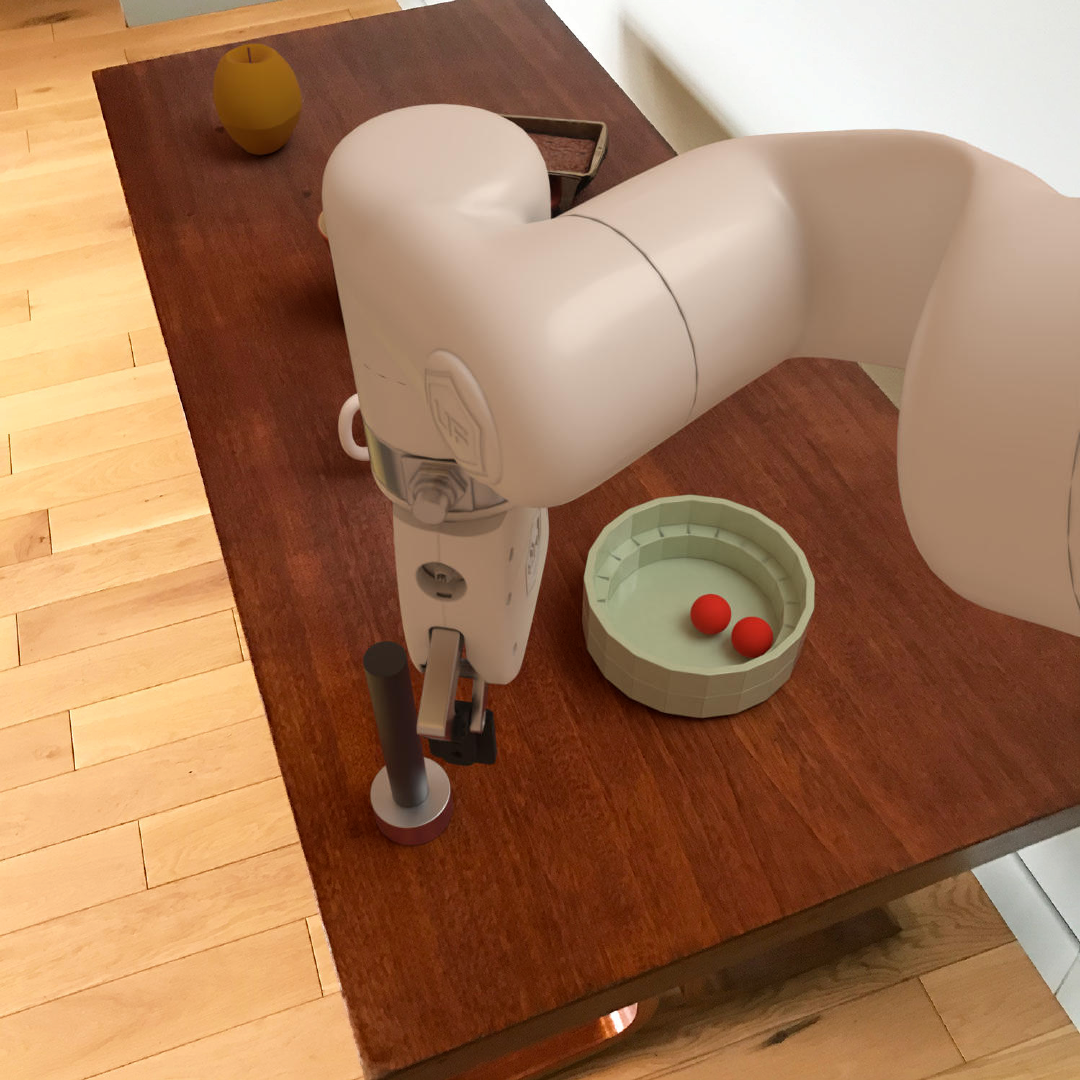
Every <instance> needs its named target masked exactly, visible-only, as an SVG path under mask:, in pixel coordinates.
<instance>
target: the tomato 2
mask: <svg viewBox="0 0 1080 1080" xmlns="http://www.w3.org/2000/svg"><path fill="white" fill-rule="evenodd" d="M731 641H732V644H733V646H734V648H735V650H736V651H737V652H738V653H739V654H741V655H742V656H745V657H748V658H758V657H760V656H762V655H764V654H765V653H766V652H767V651H768V650H769V649H770V648H771V646H772V643H773V632H772V629H771V627H770V626H769V624H768V623H767V622H766V621H764V620H763V619H761V618H758V617H752V616H751V617H746V618H743V619H741V620H740V621H738V622H737V623H736V624H735V626H734V627H733V630H732V633H731Z"/></svg>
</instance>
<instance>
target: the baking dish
mask: <svg viewBox="0 0 1080 1080" xmlns="http://www.w3.org/2000/svg"><path fill="white" fill-rule="evenodd" d="M496 114H497V115H499V116H502V117H504V118H506V119H508V120H509V121H511V122H513V123H515V124H516V125H517V126H519V127H520V128H522V129H523V130H524V131H525V132H526V133H527V135H528V136H529V137H530V138H531V139H532V140H533V141H534V143H535V144H536V145H537V147H538V149H539V151H540V153H541V155H542V157H543V159H544V161H545V164H546V168H547V172H548V178H549V185H550V198H551V219H554V218H556V217H558V216H560V215H561V214H563V213H565V212H567V211H569V210H570V208H571V205H572V202H573V200H574V198H575V197H576V196H578V195H579V194H580V193H581V192H583V190H584V189H586V188H587V187H588V186H590V184H591V183H592V182H593V181H594V179H595V178H596V177H597V175H598V173H599V171H600V168H601V166H602V164H603V161H604V160H606V159H607V155H608V151H609V147H610V139H609V128H608V125H607V124H606V123H605V121H598V120H596V121H595V120H594V121H593V120H585V119H583V120H581V119H570V118H568V119H567V118H555V117H541V116H531V115H530V116H529V115H519V114H505V113H496Z"/></svg>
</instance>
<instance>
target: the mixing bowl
mask: <svg viewBox="0 0 1080 1080" xmlns="http://www.w3.org/2000/svg"><path fill="white" fill-rule="evenodd" d="M582 585H583V587H582V609H581V610H582V613H581V614H582V615H581V625H582V630H583V635H584V639H585V645H586V650H587V651H588V653H589V654H590V656H591V657H592V659H593V661H594V662H595V664H596V665H597V667H598V669H599V671H600V672H601V674H602V675H603V676H604V678H605V679H606V680H607V681H609V682H610V683H611V684H612V685H614V686H615V687H616V688H617V689H618V690H620V691H621V692H622V693H623V694H624V695H625V696H627V697H628V698H629V699H631V700H633V701H636V702H638V703H640V704H643V705H645V706H647V707H649V708H652V709H654V710H656V711H658V712H661V713H664V714H668V715H669V714H670V715H677V716H683V717H691V718H698V719H705V718H712V717H713V718H714V717H720V716H727V715H736V714H739V713H740V712H743V711H745V710H747V709H749V708H752V707H754V706H756V705H758V704H761V703H763V702H765V701H767V700H769V698H770V697H772V695H773V694H775V693H776V692H777V691H778V690H779V689H780V688H781V687H782V686H783V685H784V684H785V683H786V682H787V681H789V679H790V678H791V675H792V674H793V671H794V670H795V667H796V665H797V662H798V660H799V658H800V656H801V654H802V650H803V647H804V644H805V640H806V637H807V634H808V632H809V628H810V624H811V620H812V618H813V614H814V610H815V593H816V591H815V589H816V588H815V585H816V581H815V577H814V575H813V572H812V570H811V567H810V564H809V562H808V559H807V557H806V555H805V553H804V551H803V550H802V549H801V547H800V546H799V545H798V544H797V543H796V542H795V540H794V539H793V538H792V537H791V535H790V534H789V533H788V532H787V531H786V529H784V528H783V527H782V526H780V525H779V523H777V522H775V521H773V520H772V519H771V518H768V516H766V515H764V514H763V513H761V512H760V511H758V510H756V509H754V508H752V507H748V506H747V505H746V506H745V505H743V504H741V503H737V502H735V501H733V500H729V499H726V498H720V497H713V496H706V495H705V496H704V495H697V494H685V495H674V496H664V497H658V498H654V499H652V500H649V501H647V502H645V503H641V504H639V505H636V506H633V507H631V508H628V509H626V510H625V511H624V512H622V513H621V514H620V515H619V516H617V517H616V518H614V519H613V520H612V521H611V522H609V523H608V524H607V525H605V526H604V527H603V529H602V530H601V532H600V533H599V535H598V536H597V537H596V539H595V540H594V543H592V546H591V547H590V549H589V550H588V553H587V559H586V563H585V569H584V575H583V584H582ZM706 594H716V595H719V596H721V597H722V598H724V599H725V600H726V601H727V602H728V604H729V606H730V608H731V621H730V623H729V625H728V626H727V628H726V629H725V630H723V631H722V632H720V633H718V634H713V635H709V634H704V633H702V632H700V631H699V630H697V629H696V628H695V626H694V625H693V623H692V621H691V617H690V611H691V607H692V605H693V603H694V602H695V601H696V600H697V599H698V598H699V597H701V596H703V595H706ZM751 616H752V617H758V618H761V619H763V620H764V621H766V622H767V623H768V624H769V626H770V627H771V629H772V632H773V643H772V646H771V648H770V649H769V650H768V651H767V652H766V653H765V654H764V655H762V656H760V657H758V658H748V657H745V656H742V655H741V654H739V653H738V652H737V651H736V650H735V648H734V646H733V644H732V641H731V633H732V630H733V627H734V626H735V624H736V623H737V622H738V621H740V620H741V619H743V618H746V617H751Z"/></svg>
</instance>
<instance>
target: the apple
mask: <svg viewBox="0 0 1080 1080" xmlns="http://www.w3.org/2000/svg"><path fill="white" fill-rule="evenodd" d="M291 67H292V66H291V65H290V64H289V63H288V62H287V61H286V59H285V58H284V57H283V56H282V55H281V54H279V52H278V51H277V50H276V49H275V48H272V47H271V46H268V45H266V44H263V43H244V44H241V45H239V46H237V47H234V48H233V49H232V48H231V49H229V50H228V51H226V53H224V54H223V55H222V56H221V57H220V59H219V61H218V63H217V66H216V68H215V71H214V73H213V74H214V75H213V88H212V100H213V103H214V106H215V110H216V113H217V117H218V119H219V122H220V124H221V125H222V127H223V128H224V129H225V131H226V132H227V134H228V136H230V138H231V139H232V141H234V142H235V143H236V144H238V145H239V146H240V147H241V148H242V149H243V150H245V151H246V152H247V153H248V154H252V155H255V156H263V155H270V154H272V153H274V152H276V151H279V150H280V149H281V148H282V147H284V146H285V145H286V144H287V143H288V142H289V140H290V139H291V137H292V135H293V133H294V131H295V130H296V127H297V125H298V123H299V120H300V119H301V112H302V108H303V100H302V92H301V89H300V85H299V82H298V79H297V76H296V73H295V71H294V70H293V68H291Z"/></svg>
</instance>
